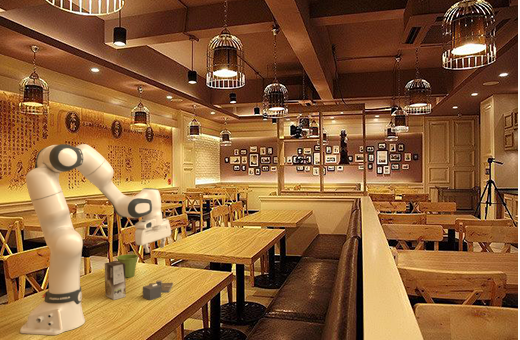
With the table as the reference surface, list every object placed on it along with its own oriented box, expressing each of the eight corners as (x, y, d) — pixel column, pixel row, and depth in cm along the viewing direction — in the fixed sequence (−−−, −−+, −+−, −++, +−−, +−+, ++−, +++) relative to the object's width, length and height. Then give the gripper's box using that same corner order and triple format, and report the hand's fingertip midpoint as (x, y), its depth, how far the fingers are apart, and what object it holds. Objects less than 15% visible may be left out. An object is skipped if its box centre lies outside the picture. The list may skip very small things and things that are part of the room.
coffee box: (126, 296, 181) (125, 263, 181) (113, 300, 176) (112, 266, 176) (117, 292, 187) (117, 260, 187) (104, 295, 182) (104, 262, 182)
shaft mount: (144, 293, 186) (144, 285, 185) (149, 285, 198) (149, 277, 197) (169, 292, 186) (168, 284, 186) (173, 284, 198) (172, 276, 198)
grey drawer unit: (150, 300, 176) (149, 288, 176) (143, 297, 180) (142, 285, 180) (161, 296, 180) (160, 285, 180) (153, 294, 184) (153, 282, 184)
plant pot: (134, 279, 207) (134, 259, 207) (113, 279, 208) (113, 259, 207) (141, 273, 219) (141, 253, 219) (121, 273, 219) (121, 254, 219)
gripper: (163, 216, 190) (165, 243, 191) (131, 225, 173) (134, 255, 173) (173, 217, 187) (175, 244, 188) (141, 226, 169) (144, 256, 170)
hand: (155, 249), depth 181 cm, fingers open, 8 cm apart
